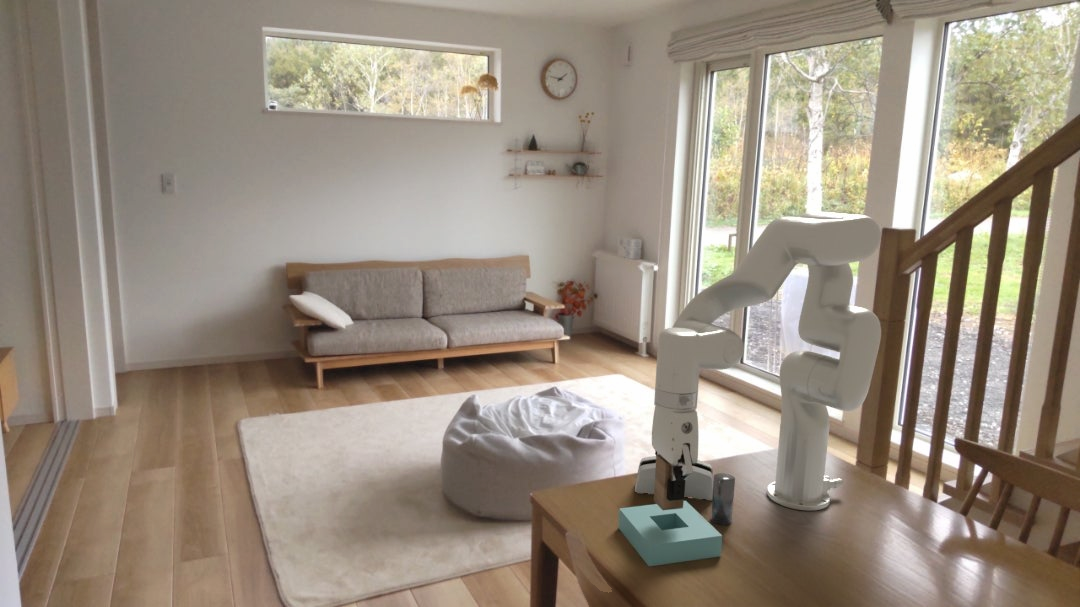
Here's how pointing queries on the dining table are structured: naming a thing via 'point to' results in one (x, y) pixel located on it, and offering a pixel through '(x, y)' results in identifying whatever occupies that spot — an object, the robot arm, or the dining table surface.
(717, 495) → the round peg
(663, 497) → the square peg
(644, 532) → the bore block
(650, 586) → the dining table surface
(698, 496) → the slotted arch block
